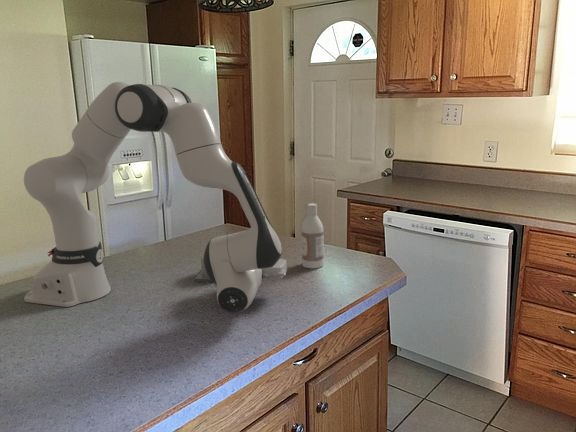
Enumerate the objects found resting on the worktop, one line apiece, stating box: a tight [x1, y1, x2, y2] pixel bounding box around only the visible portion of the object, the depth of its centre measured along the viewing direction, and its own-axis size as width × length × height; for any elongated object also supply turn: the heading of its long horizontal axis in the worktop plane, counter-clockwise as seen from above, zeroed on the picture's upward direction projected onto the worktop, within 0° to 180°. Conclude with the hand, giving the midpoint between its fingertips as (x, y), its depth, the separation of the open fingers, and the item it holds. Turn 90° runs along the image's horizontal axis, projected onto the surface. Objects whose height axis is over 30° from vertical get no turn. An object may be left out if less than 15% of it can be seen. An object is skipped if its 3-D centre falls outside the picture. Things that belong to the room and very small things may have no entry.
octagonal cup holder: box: [194, 253, 214, 283], centre depth 151 cm, size 12×12×6 cm
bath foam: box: [300, 202, 325, 270], centre depth 156 cm, size 7×7×20 cm
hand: (254, 258), depth 142 cm, fingers closed on smoothie, 6 cm apart
